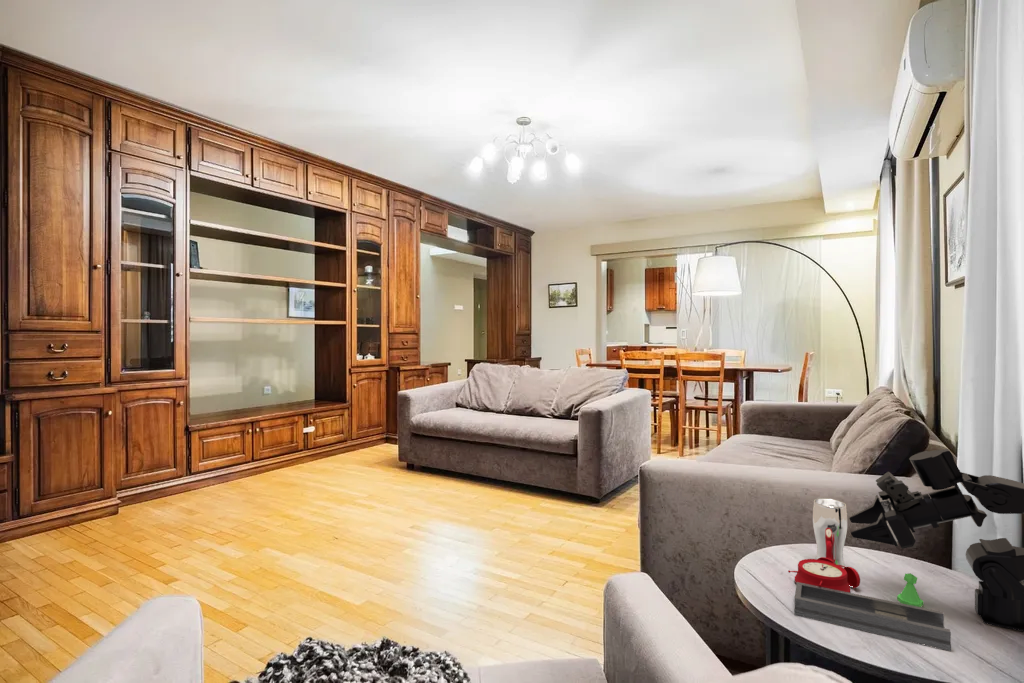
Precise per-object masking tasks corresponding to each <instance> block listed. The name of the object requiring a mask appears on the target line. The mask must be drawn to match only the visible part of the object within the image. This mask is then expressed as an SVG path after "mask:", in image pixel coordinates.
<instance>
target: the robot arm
mask: <svg viewBox="0 0 1024 683" xmlns="http://www.w3.org/2000/svg"><path fill="white" fill-rule="evenodd" d="M908 460H909V461H910V463H911V465H912V467H913V468H914V470H915V472H916V474H917V476H918V478H919V480H920V482H921V483H922V485H923V486H924V487H927V488H929V487H930V488H931V489H932V490H933V491H932V492H927V493H922V492H921V491H920V492H919V491H917V490H916V491H912V492H911V491H910V490H909V486H908V485H907V484H906V483H904V482H903V480H899V479H898V478H897V477H896V476H894V475H893V474H892V473H891V472H890V471H887V472H886V473H884V474H883V475H882V476H880V477H879V478H877V479H876V480H875V482H876V486H878V488H879V489H880V490H881V491H878V494H876V495H875V496H874V497H875V498H874V500H873V503H872V504H871V505H869V506H868V507H866V508H864V509H863V510H861V511H859V512H856V513H855V514H854V515H851V516H849V521H850V523H852V524H861V525H862V524H863V525H864V524H867V525H864V526H862V527H859V528H856V529H853V530H852V531H850V535H851V537H853V538H854V539H860V540H865V541H870V542H876V543H877V542H878V543H883V544H887V545H892V546H895V547H899V546H900V548H901V549H902V550H904V549H908V548H913V547H914V545H915V543H916V542H917V541H916V537H915V535H914V533H916V530H915V529H920V528H925V527H928V526H932V528H933V529H936V528H940V525H939V524H941V523H946V522H951V521H955V520H961V519H965V518H968V517H969V518H970V517H971V519H972V521H973V522H974V524H975V525H976V526H977V527H979V528H981V527H982V526H983V523H984V521H985V519H986V517H988V514H987V513H986V511H984V510H982V509H979V508H978V506H977V504H976V503H975V501H974V499H973V497H972V496H974V497H975V499H976V500H977V501H978V502H979V504H980V505H981V506H982V507H984V509H986V510H987V511H989V512H991V513H995V514H998V515H999V514H1000V515H1004V514H1005V515H1009V514H1011V515H1012V514H1013V515H1014V514H1015V515H1016V514H1017V515H1019V514H1020V515H1021V514H1022V515H1023V514H1024V483H1023V482H1019V481H1017V480H1013V479H1008V478H1004V477H1001V476H996V475H989V474H988V475H982V476H977V475H973V474H969V473H967V472H962V471H961V470H960V469H959V467H958V465H957V463H956V461H955V459H954V455H953V454H952V451H951V450H950V449H948V448H945V449H941V450H940V449H936V450H925V451H920V452H917V453H915V454H914V455H911V456H910V457H909V458H908ZM959 483H960V484H961V486H962V487H963V488H964V489H965V490H966V492H967V493H968V494H965V493H964V494H963V492H962V490H961V489H960V486H959V485H958V484H959ZM878 495H879V496H878ZM971 495H972V496H971ZM965 559H966V561H967V563H968V564H969V566H970V568H971V570H972V571H973V573H974V575H975V577H977V578H978V579H979V581H978V588H975V589H974V610H975V612H976V614H977V615H978V616H979V617H980V619H981V621H982V623H984V624H986V625H989V626H990V625H991V626H996V627H1000V628H1005V629H1010V630H1013V631H1019V632H1024V547H1020V546H1015V545H1012V543H1011V542H1010V540H1008V538H1007V537H1000V538H996V539H982V538H980V539H979V542H974V543H972V544H970V545H969V547H968V548H966V552H965Z"/></svg>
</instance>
